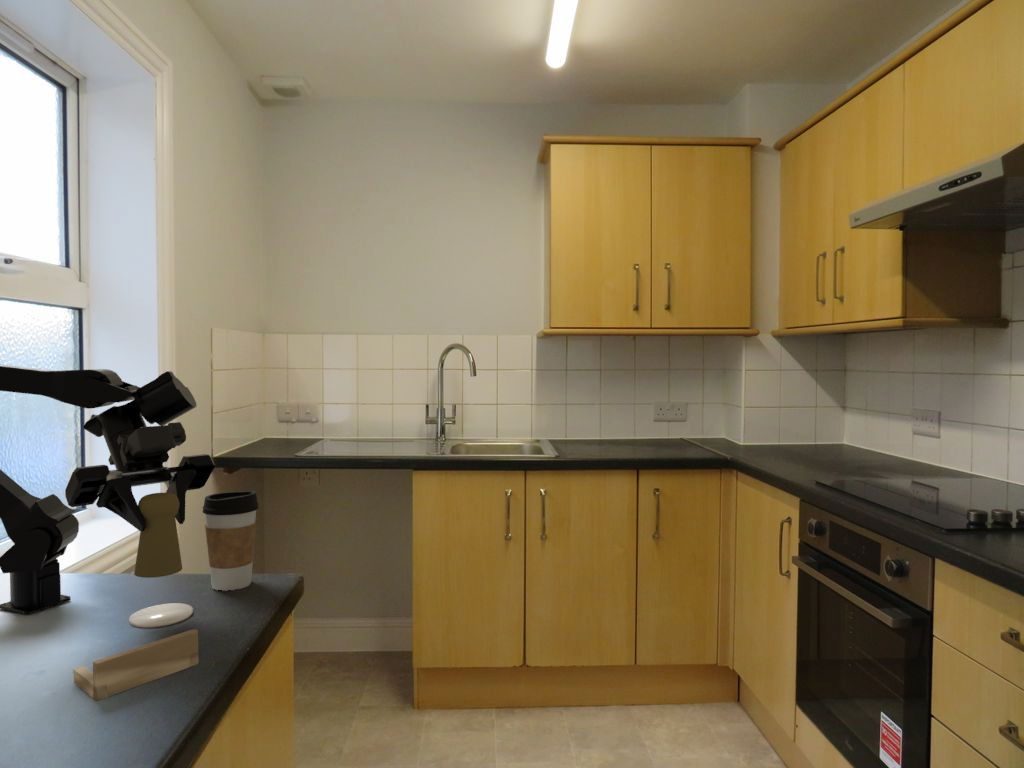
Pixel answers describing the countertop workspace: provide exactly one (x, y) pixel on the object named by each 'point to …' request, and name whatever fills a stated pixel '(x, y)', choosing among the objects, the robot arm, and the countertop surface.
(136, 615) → the saucer
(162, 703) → the countertop surface
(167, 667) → the holder
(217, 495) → the coffee cup
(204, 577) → the countertop surface
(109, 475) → the robot arm
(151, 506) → the cork
